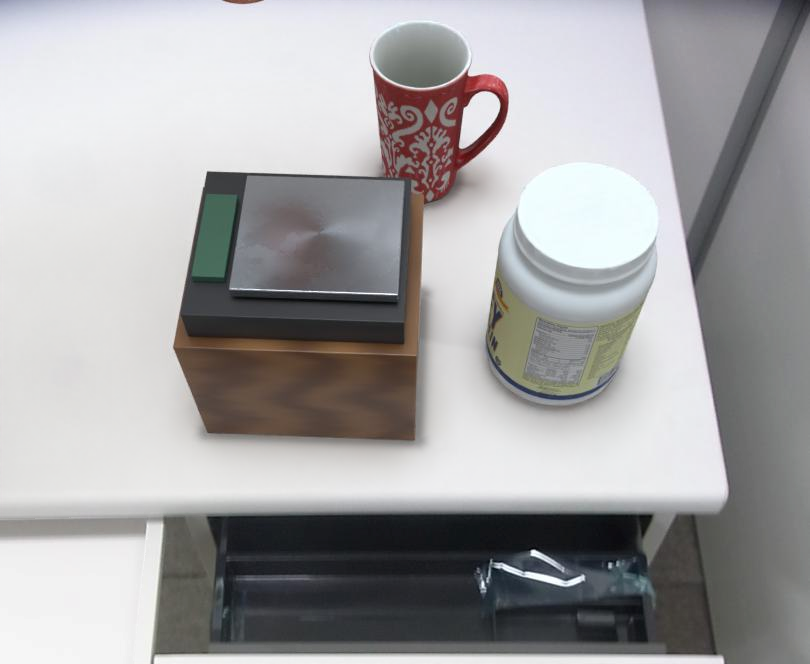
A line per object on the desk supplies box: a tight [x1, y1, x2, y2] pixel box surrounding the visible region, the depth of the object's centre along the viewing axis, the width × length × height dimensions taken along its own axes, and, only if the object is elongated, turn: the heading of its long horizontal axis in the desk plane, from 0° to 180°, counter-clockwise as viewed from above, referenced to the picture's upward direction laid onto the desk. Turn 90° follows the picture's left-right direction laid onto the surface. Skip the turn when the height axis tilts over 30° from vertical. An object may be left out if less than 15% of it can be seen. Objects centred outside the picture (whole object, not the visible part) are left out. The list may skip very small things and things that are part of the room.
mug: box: [368, 19, 510, 203], centre depth 78 cm, size 13×9×14 cm
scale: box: [180, 170, 412, 344], centre depth 63 cm, size 16×14×3 cm
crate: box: [172, 186, 425, 441], centre depth 70 cm, size 18×16×12 cm
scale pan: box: [229, 176, 404, 302], centre depth 62 cm, size 12×11×1 cm
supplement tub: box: [484, 161, 660, 406], centre depth 68 cm, size 12×12×17 cm
